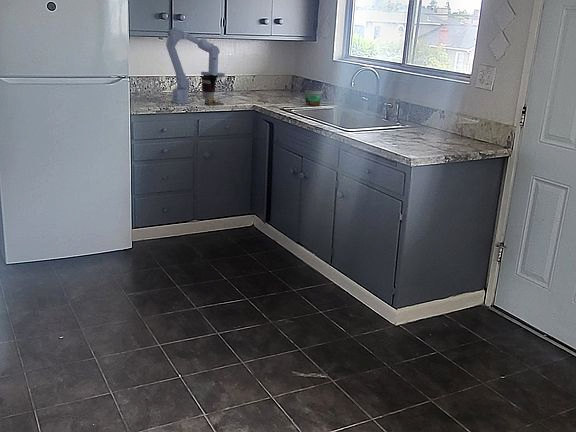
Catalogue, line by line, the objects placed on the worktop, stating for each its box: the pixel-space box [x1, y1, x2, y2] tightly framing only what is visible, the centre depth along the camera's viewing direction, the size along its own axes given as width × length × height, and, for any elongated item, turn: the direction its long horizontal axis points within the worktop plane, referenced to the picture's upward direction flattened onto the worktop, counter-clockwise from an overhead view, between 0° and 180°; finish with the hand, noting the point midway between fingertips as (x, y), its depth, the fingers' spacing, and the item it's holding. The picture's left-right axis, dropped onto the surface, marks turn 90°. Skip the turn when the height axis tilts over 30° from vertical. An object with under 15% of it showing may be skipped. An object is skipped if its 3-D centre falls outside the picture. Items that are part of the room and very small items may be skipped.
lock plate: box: [203, 98, 225, 107], centre depth 400 cm, size 11×6×4 cm, turn 131°
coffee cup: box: [200, 74, 218, 99], centre depth 421 cm, size 10×10×15 cm
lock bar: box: [206, 97, 217, 102], centre depth 399 cm, size 6×2×2 cm, turn 122°
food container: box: [303, 89, 323, 107], centre depth 421 cm, size 12×6×10 cm, turn 105°
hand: (212, 87), depth 404 cm, fingers closed
